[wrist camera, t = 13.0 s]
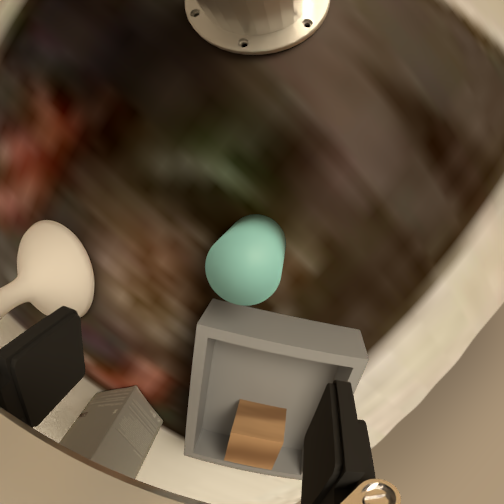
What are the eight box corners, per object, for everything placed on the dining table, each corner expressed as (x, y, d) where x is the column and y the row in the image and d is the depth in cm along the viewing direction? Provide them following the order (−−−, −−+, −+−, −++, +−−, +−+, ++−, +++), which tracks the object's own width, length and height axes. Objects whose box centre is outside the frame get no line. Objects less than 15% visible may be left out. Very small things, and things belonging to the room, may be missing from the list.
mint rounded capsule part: (233, 208, 27) (211, 224, 20) (291, 221, 27) (289, 242, 20) (223, 264, 29) (200, 295, 22) (278, 277, 28) (272, 313, 22)
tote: (212, 298, 30) (196, 323, 25) (359, 329, 28) (368, 359, 24) (195, 426, 35) (183, 455, 30) (307, 449, 34) (306, 480, 29)
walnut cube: (239, 398, 31) (230, 432, 27) (286, 408, 31) (283, 442, 26) (232, 428, 33) (223, 460, 28) (275, 437, 32) (271, 470, 28)
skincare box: (137, 383, 34) (71, 479, 19) (168, 425, 36) (120, 521, 21) (93, 391, 36) (29, 470, 21) (122, 429, 38) (72, 510, 23)
